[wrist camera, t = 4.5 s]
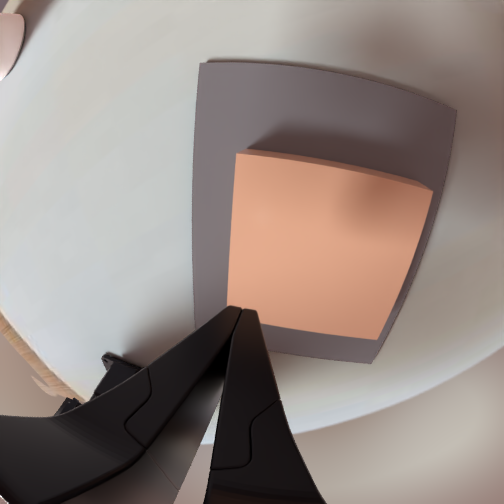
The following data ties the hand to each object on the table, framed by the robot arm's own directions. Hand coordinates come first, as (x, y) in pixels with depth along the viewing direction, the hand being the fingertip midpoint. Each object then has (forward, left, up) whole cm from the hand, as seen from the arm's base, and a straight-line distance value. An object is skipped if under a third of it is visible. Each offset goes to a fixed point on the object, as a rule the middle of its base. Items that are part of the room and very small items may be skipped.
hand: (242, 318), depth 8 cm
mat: (0, -2, -6) cm, 7 cm away
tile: (0, +1, -5) cm, 5 cm away
